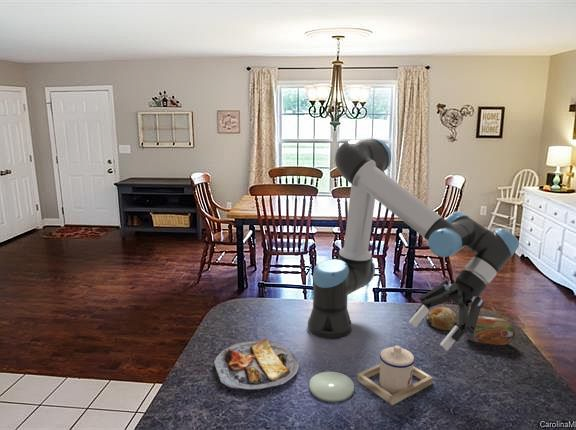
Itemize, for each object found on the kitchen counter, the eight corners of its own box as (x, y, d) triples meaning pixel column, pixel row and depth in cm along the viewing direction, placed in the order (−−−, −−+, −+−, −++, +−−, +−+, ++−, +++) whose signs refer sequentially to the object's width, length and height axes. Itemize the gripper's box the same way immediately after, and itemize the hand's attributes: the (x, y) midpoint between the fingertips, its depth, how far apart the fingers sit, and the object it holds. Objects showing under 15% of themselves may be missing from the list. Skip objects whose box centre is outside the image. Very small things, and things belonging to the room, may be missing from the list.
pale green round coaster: (300, 384, 120) (300, 381, 119) (334, 370, 126) (334, 366, 126) (328, 407, 110) (328, 404, 110) (363, 391, 117) (363, 387, 116)
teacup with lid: (415, 396, 114) (418, 357, 112) (380, 394, 115) (382, 355, 113) (407, 370, 126) (410, 334, 123) (375, 369, 127) (377, 332, 124)
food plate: (208, 353, 135) (208, 342, 134) (279, 340, 143) (279, 331, 142) (225, 404, 112) (225, 392, 112) (308, 386, 120) (309, 374, 119)
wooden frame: (357, 380, 121) (357, 373, 121) (396, 362, 130) (396, 356, 130) (392, 405, 111) (392, 398, 111) (432, 383, 120) (432, 377, 119)
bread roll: (446, 342, 149) (459, 325, 146) (420, 323, 153) (431, 306, 149) (453, 330, 157) (464, 313, 154) (427, 312, 161) (438, 296, 158)
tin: (463, 340, 143) (465, 316, 141) (462, 336, 146) (464, 312, 144) (513, 347, 139) (516, 323, 137) (511, 342, 142) (514, 318, 140)
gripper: (518, 302, 112) (466, 366, 110) (451, 270, 135) (407, 322, 133) (504, 285, 109) (450, 351, 107) (438, 256, 132) (393, 309, 130)
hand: (426, 335), depth 120 cm, fingers open, 13 cm apart
